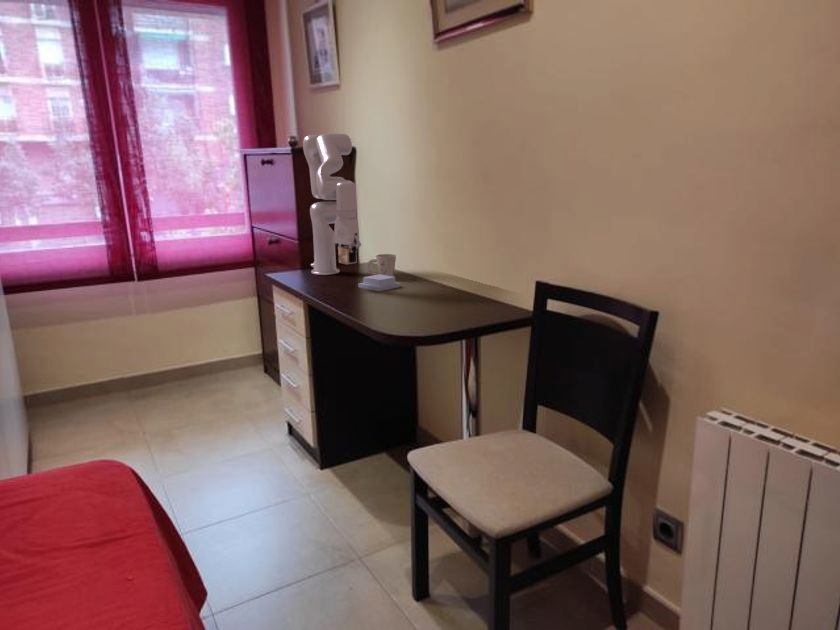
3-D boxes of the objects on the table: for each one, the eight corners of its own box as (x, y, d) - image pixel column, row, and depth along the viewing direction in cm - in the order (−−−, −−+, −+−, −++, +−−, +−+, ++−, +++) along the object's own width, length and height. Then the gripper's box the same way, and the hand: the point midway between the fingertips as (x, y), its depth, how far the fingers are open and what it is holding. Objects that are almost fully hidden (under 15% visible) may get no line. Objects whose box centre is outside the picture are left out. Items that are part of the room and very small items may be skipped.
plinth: (358, 287, 236) (358, 277, 235) (379, 282, 245) (379, 273, 244) (379, 291, 228) (379, 281, 227) (400, 286, 237) (400, 276, 236)
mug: (395, 280, 250) (395, 257, 247) (365, 280, 250) (365, 257, 247) (396, 276, 258) (396, 254, 255) (368, 276, 258) (367, 254, 255)
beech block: (338, 262, 232) (338, 247, 230) (348, 260, 235) (347, 246, 234) (347, 264, 229) (346, 249, 227) (356, 262, 232) (356, 247, 231)
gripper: (324, 213, 230) (326, 259, 235) (354, 217, 219) (355, 265, 224) (339, 212, 235) (340, 257, 240) (369, 215, 224) (369, 263, 229)
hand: (347, 260), depth 232 cm, fingers closed on beech block, 5 cm apart
